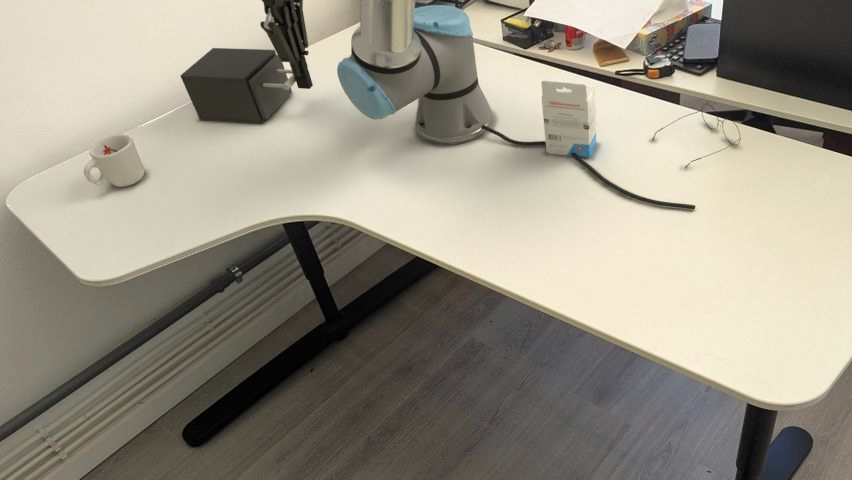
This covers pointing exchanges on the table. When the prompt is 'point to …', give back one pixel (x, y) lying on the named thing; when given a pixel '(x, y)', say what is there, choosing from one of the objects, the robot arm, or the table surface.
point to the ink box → (569, 118)
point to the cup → (115, 161)
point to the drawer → (271, 86)
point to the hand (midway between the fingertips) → (305, 86)
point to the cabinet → (226, 84)
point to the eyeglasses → (709, 127)
